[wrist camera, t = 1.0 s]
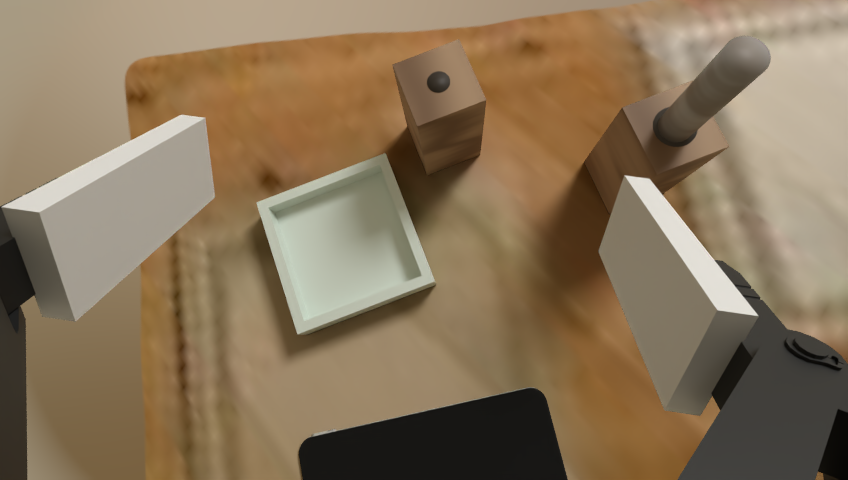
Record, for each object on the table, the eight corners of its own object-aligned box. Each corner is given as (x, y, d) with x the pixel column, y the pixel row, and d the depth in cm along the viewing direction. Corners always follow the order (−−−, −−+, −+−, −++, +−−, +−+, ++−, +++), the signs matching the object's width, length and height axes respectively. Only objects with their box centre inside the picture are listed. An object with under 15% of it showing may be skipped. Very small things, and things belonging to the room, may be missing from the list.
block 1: (459, 106, 44) (459, 38, 34) (480, 154, 42) (486, 99, 33) (407, 126, 44) (392, 64, 34) (427, 175, 42) (417, 126, 33)
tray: (389, 163, 43) (385, 153, 41) (436, 284, 40) (434, 281, 38) (267, 210, 43) (256, 202, 40) (306, 334, 40) (297, 334, 38)
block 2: (637, 141, 42) (768, -4, 24) (664, 192, 41) (821, 80, 23) (584, 161, 42) (675, 32, 24) (609, 214, 41) (723, 118, 23)
